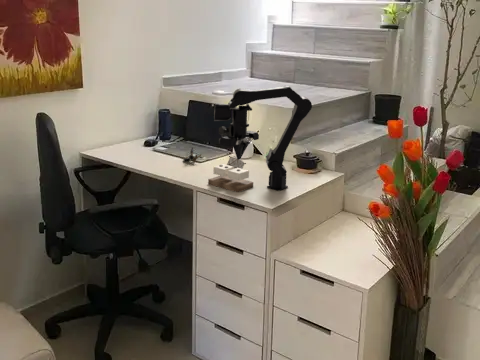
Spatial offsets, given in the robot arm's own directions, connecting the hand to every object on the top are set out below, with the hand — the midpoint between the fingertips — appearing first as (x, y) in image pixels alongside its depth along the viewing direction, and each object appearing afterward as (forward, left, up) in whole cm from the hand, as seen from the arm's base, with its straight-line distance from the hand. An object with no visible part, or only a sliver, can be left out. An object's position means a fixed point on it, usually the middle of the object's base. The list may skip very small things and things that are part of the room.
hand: (238, 159), depth 234 cm
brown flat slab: (+4, 0, -12) cm, 13 cm away
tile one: (0, 0, -8) cm, 8 cm away
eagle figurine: (+41, -15, -12) cm, 46 cm away
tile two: (+8, 0, -8) cm, 11 cm away
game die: (+14, -15, -12) cm, 24 cm away
